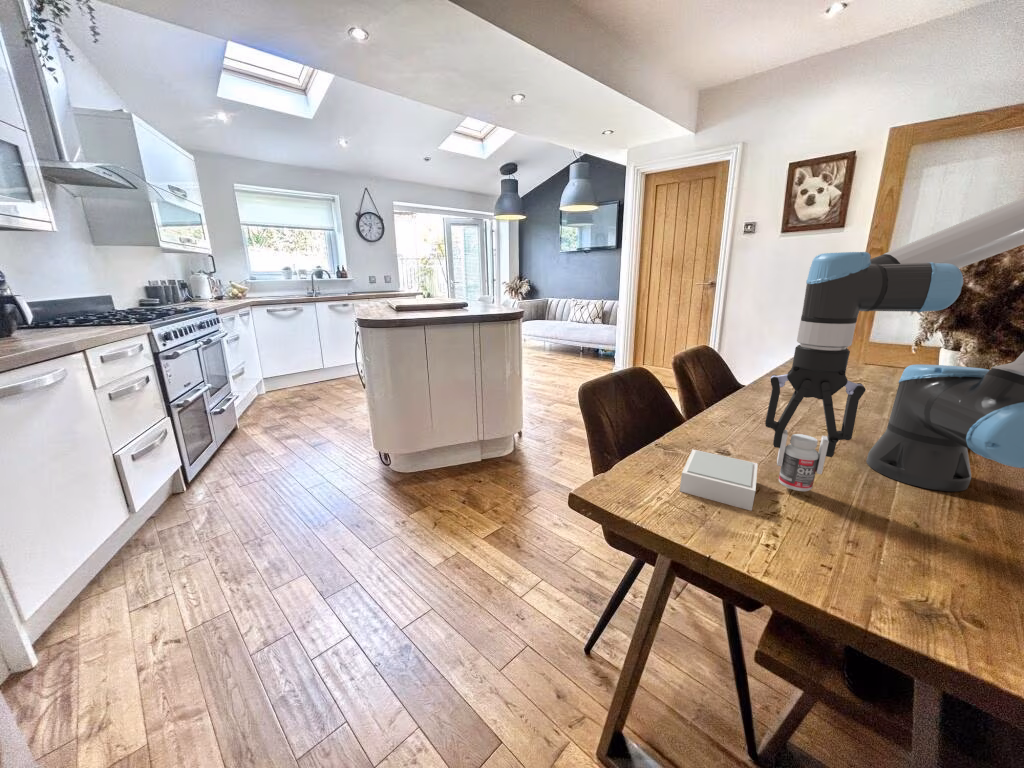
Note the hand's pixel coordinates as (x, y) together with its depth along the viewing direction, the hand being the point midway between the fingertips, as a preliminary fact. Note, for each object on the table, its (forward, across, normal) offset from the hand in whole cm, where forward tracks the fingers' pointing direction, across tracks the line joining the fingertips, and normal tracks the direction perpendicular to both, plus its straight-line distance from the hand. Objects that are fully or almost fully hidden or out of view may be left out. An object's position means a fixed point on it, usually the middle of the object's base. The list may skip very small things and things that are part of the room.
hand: (798, 466), depth 74 cm
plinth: (+5, +13, +6) cm, 15 cm away
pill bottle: (+4, 0, 0) cm, 4 cm away
